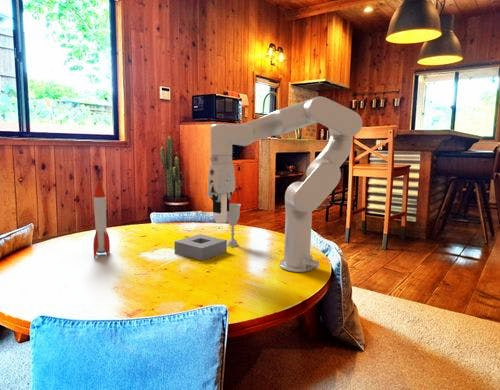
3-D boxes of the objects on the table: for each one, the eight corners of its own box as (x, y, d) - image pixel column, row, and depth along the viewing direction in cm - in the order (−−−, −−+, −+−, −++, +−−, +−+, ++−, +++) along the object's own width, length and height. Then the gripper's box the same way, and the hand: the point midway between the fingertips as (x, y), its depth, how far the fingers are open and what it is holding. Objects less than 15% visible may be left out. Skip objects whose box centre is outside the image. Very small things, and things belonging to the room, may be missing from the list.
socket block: (226, 251, 154) (226, 240, 154) (201, 260, 142) (201, 248, 142) (200, 245, 163) (200, 234, 162) (174, 253, 151) (174, 241, 150)
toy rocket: (93, 257, 144) (89, 180, 139) (95, 253, 149) (91, 178, 144) (109, 256, 145) (105, 180, 140) (110, 252, 150) (106, 178, 146)
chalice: (233, 248, 160) (233, 207, 157) (221, 245, 164) (221, 205, 161) (243, 244, 165) (244, 204, 163) (231, 241, 169) (232, 202, 167)
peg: (229, 221, 133) (229, 188, 131) (221, 223, 130) (221, 189, 128) (220, 220, 135) (220, 187, 133) (213, 222, 132) (213, 188, 130)
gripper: (213, 161, 120) (213, 217, 123) (244, 159, 134) (243, 209, 136) (196, 160, 125) (197, 214, 127) (228, 158, 138) (227, 207, 141)
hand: (221, 211), depth 132 cm, fingers closed on peg, 4 cm apart
